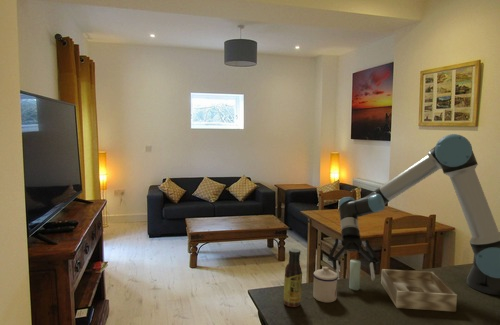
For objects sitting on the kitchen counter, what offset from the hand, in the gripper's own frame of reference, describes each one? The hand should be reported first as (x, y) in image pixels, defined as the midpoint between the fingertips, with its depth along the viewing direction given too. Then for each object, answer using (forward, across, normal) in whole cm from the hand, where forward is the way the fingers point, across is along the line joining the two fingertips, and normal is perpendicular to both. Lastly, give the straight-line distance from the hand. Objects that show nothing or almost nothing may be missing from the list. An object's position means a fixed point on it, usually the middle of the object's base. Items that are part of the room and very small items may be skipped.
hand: (355, 278), depth 134 cm
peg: (+2, 0, -5) cm, 5 cm away
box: (+5, -22, -2) cm, 23 cm away
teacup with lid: (+8, +13, +1) cm, 15 cm away
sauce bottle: (+13, +25, +6) cm, 29 cm away
